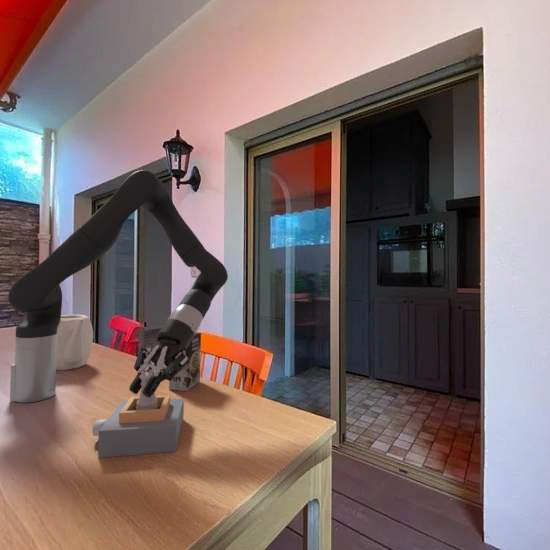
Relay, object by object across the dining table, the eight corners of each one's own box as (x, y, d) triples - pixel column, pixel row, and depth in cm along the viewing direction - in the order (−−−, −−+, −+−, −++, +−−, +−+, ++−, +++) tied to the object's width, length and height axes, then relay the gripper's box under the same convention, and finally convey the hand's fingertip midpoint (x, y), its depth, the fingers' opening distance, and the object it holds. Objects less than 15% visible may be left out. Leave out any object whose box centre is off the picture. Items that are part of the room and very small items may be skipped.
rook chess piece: (136, 415, 64) (137, 376, 64) (135, 407, 68) (135, 370, 68) (159, 411, 66) (160, 373, 66) (156, 403, 70) (157, 367, 70)
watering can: (53, 381, 101) (55, 322, 101) (33, 364, 118) (34, 314, 118) (105, 370, 112) (106, 318, 112) (80, 357, 130) (81, 311, 130)
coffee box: (187, 391, 93) (188, 337, 93) (168, 389, 95) (169, 336, 95) (201, 381, 102) (202, 332, 102) (182, 380, 103) (183, 331, 104)
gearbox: (80, 459, 58) (81, 421, 58) (106, 424, 72) (107, 393, 72) (175, 451, 61) (176, 415, 61) (183, 419, 75) (184, 390, 75)
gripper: (151, 315, 77) (105, 379, 66) (197, 319, 71) (154, 391, 60) (167, 333, 82) (126, 396, 71) (211, 339, 76) (173, 408, 65)
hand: (139, 393), depth 65 cm, fingers closed on rook chess piece, 3 cm apart
